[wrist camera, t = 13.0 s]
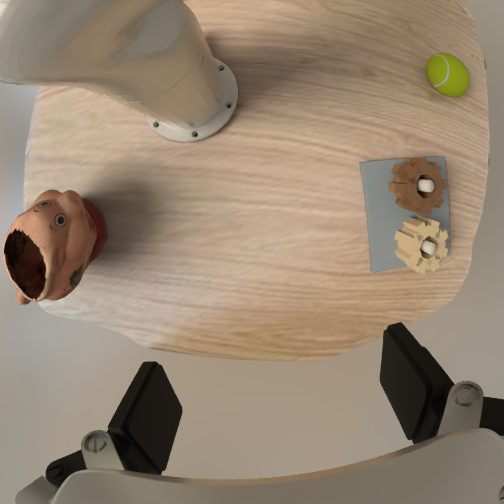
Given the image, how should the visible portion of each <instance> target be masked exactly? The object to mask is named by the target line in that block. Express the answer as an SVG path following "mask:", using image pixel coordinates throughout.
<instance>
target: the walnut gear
mask: <svg viewBox="0 0 504 504" xmlns="http://www.w3.org/2000/svg"><path fill="white" fill-rule="evenodd" d="M440 169H441V168H440V167H439V166H438V165H437V163H436V162H427V161H426V158H412V159H404V164H395V165H394V167H393V169H392V170H391V172H392V173H393V174H394V177H393V182H390V183H389V191H390V192H394V193H395V196H396V197H397V199H396V201H395V203H396V204H397V205H398V206H399V207H400V208H404V209H407V210H409V211H412V212H416V213H419V214H422V215H429V214H432V212H431V208H435V207H438V208H440V207H441V205H442V203H443V201H444V200H443V199H442V198H441V196H442V194H443V191H442V189H446V180H443V179H441V175H440V174H439V171H440ZM418 179H424V180H431V181H432V182H433V183H434V190H433V191H432V192H425V191H417V185H416V182H417V180H418Z"/></svg>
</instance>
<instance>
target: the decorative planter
mask: <svg viewBox="0 0 504 504" xmlns="http://www.w3.org/2000/svg"><path fill="white" fill-rule="evenodd" d="M105 241H106V228H105V223H104V219H103V217H102V215H101V214H100V212H99V211H98V209H97V208H96V207H95V206H94V205H93V204H91V203H90V202H88V201H86V200H84V199H81V197H80V196H79V194H78V193H76V192H75V191H72V190H68V191H66V192H64V193H61V192H59V191H57V190H48V191H46V192H44V193H42V194H41V195H40V196H39V197H38V198H37V199H36V201H35V202H34V203H33V205H32V206H31V208H30V209H29V210H27V211H26V212H24V213H22V214H21V215H19V216H18V217H17V218H16V219H15V221H14V222H13V224H12V225H11V227H10V229H9V230H8V232H7V234H6V237H5V240H4V245H3V260H4V265H5V268H6V271H7V273H8V275H9V277H10V279H11V281H12V283H13V284H14V286H15V287H16V288H17V289H18V291H17V298H18V302H19V303H20V304H22V305H23V304H28V303H29V302H31V301H35V302H38V301H41V300H43V299H48V300H59V299H61V298H64V297H65V296H67V295H68V294H69V293H70V292H72V291H73V290H74V289H75V288H76V287H77V286H78V284H79V282H80V280H81V278H82V276H83V273H84V271H85V270H86V268H87V266H88V265H89V263H90V262H91V261H92V260H94V259H95V258H96V257H97V255H98V254H99V252H100V251H101V249H102V246H103V244H104V243H105Z"/></svg>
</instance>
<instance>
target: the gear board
mask: <svg viewBox="0 0 504 504" xmlns="http://www.w3.org/2000/svg"><path fill="white" fill-rule="evenodd" d="M424 158H426V161H427V162H436V163H437V165H438V166H439V167H440V168H441V169H440V171H439V174H440V175H441V179H443V180H446V189H442V191H443V194H442V196H441V198H442V199H443V200H444V201H443V203H442V205H441V207H440V208H438V207H435V208H431V212H432V214H429V215H422V214H419V213H416V212H412V211H409V210H407V209H404V208H400V207H399V206H398V205H397V204H396V203H395V201H396V199H397V197H396V196H395V193H394V192H390V191H389V183H390V182H393V177H394V174H393V173H392V172H391V170H392V169H393V167H394V165H395V164H404V159H394V160H382V161H371V162H361V163H360V169H361V176H362V182H363V190H364V197H365V206H366V215H367V225H368V236H369V250H370V267H371V271H372V272H373V273H376V272H381V271H385V270H390V269H394V268H398V267H403V266H407V265H408V266H409V267H411V268H412V269H413V270H415V271H416V272H418V273H422V274H424V273H425V270H426V269H428V270H429V269H430V270H432V271H435V270H436V269H437V268H439V264H438V262H439V261H441V258H442V257H446V256H447V255H449V247H450V222H449V199H448V186H447V176H446V167H445V159H444V157H424ZM407 159H412V158H407ZM416 185H417V191H425V192H432V191H433V190H434V183H433V182H432V181H431V180H424V179H418V180H417V182H416Z"/></svg>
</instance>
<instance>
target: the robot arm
mask: <svg viewBox="0 0 504 504" xmlns="http://www.w3.org/2000/svg"><path fill="white" fill-rule="evenodd" d="M221 69H224V70H223V71H220V70H221ZM0 82H3V83H9V84H15V85H24V86H70V87H77V88H82V89H86V90H89V91H92V92H95V93H97V94H100V95H103V96H105V97H107V98H110V99H112V100H114V101H116V102H118V103H120V104H123V105H125V106H127V107H129V108H131V109H134V110H136V111H138V112H140V113H142V114H144V115H145V118H146V120H147V122H148V124H149V126H150V127H151V128H152V129H153V130H154V131H155V132H156V133H157V134H159V135H160V136H162V137H164V138H166V139H168V140H171V141H175V142H182V143H183V142H195V141H200V140H202V139H205V138H207V137H210V136H211V135H213V134H215V133H216V132H218V131H219V130H220V129H221V128H222V127H223V126H225V124H226V123H227V122H228V121H229V119H230V118H231V116H232V114H233V113H234V111H235V108H236V105H237V101H238V86H237V82H236V79H235V77H234V75H233V72H232V71H231V70H230V69H229V67H228V66H227V65H226V64H224V63H223V62H222V61H220V60H218V59H216V58H215V57H213V55H212V53H211V51H210V48H209V46H208V43H207V41H206V39H205V36H204V34H203V32H202V29H201V27H200V25H199V22H198V20H197V18H196V16H195V15H194V13H193V12H192V11H191V9H190V8H189V7H188V6H187V5H186V4H184V3H183V2H182V1H180V0H0ZM229 105H231V108H227V107H228V106H229ZM158 124H159V126H158V127H157V125H158ZM196 133H198V136H197V137H195V134H196ZM382 350H383V351H382V361H381V371H380V383H381V385H382V387H383V389H384V391H385V393H386V395H387V397H388V399H389V402H390V403H391V405H392V408H393V410H394V412H395V414H396V416H397V418H398V420H399V422H400V424H401V426H402V429H403V431H404V433H405V435H406V437H407V439H408V440H411V439H412V441H413V444H414V445H411V446H409V447H406V448H403V449H400V450H398V451H395V452H392V453H388V454H385V455H382V456H379V457H376V458H372V459H369V460H365V461H362V462H358V463H354V464H350V465H346V466H342V467H337V468H333V469H328V470H323V471H317V472H311V473H305V474H298V475H291V476H282V477H272V478H259V479H237V480H236V479H234V480H218V479H217V480H216V479H215V480H213V479H192V478H180V477H170V476H161V473H162V471H164V470H165V469H166V467H167V463H168V460H169V456H170V452H171V449H172V446H173V442H174V439H175V436H176V432H177V429H178V426H179V422H180V419H181V415H182V406H181V404H180V402H179V400H178V398H177V396H176V394H175V393H174V390H173V388H172V386H171V384H170V382H169V380H168V378H167V376H166V374H165V371H164V369H163V367H162V365H159V364H158V363H157V362H155V361H153V362H143V363H142V365H141V367H140V368H139V370H138V372H137V374H136V376H135V377H134V379H133V381H132V383H131V385H130V386H129V388H128V390H127V392H126V394H125V395H124V397H123V399H122V401H121V403H120V404H119V406H118V408H117V410H116V412H115V414H114V416H113V417H112V419H111V422H110V423H109V425H108V428H109V429H108V431H107V432H106V431H103V430H95V431H92V432H90V433H88V434H87V435H86V436H85V437H84V438H83V440H82V442H81V450H79V451H77V452H75V453H72V454H70V455H68V456H65V457H63V458H61V459H58V460H56V461H53V462H52V463H50V465H49V466H48V467H47V469H46V477H44V476H41V477H39V478H38V479H36V480H35V481H34V482H32V483H31V484H30V485H28V486H27V487H25V488H24V489H22V490H21V491H19V492H18V494H17V495H16V504H504V399H497V398H490V397H484V396H483V391H482V389H481V387H480V386H479V385H478V384H476V383H474V382H471V381H462V382H459V383H457V384H454V383H453V382H452V380H451V379H450V378H449V376H448V375H447V374H446V373H445V371H444V370H443V369H442V367H441V366H440V365H439V364H438V362H437V361H436V360H435V359H434V357H433V356H432V355H431V354H430V352H429V351H428V350H427V349H426V348H425V347H422V346H421V345H420V344H419V343H418V341H417V340H416V339H415V338H414V337H413V335H412V334H411V333H410V332H409V331H408V330H407V328H406V327H405V326H404V325H403V324H402V323H401V322H399V323H396V324H392V325H389V326H388V327H387V330H384V334H383V349H382Z"/></svg>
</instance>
